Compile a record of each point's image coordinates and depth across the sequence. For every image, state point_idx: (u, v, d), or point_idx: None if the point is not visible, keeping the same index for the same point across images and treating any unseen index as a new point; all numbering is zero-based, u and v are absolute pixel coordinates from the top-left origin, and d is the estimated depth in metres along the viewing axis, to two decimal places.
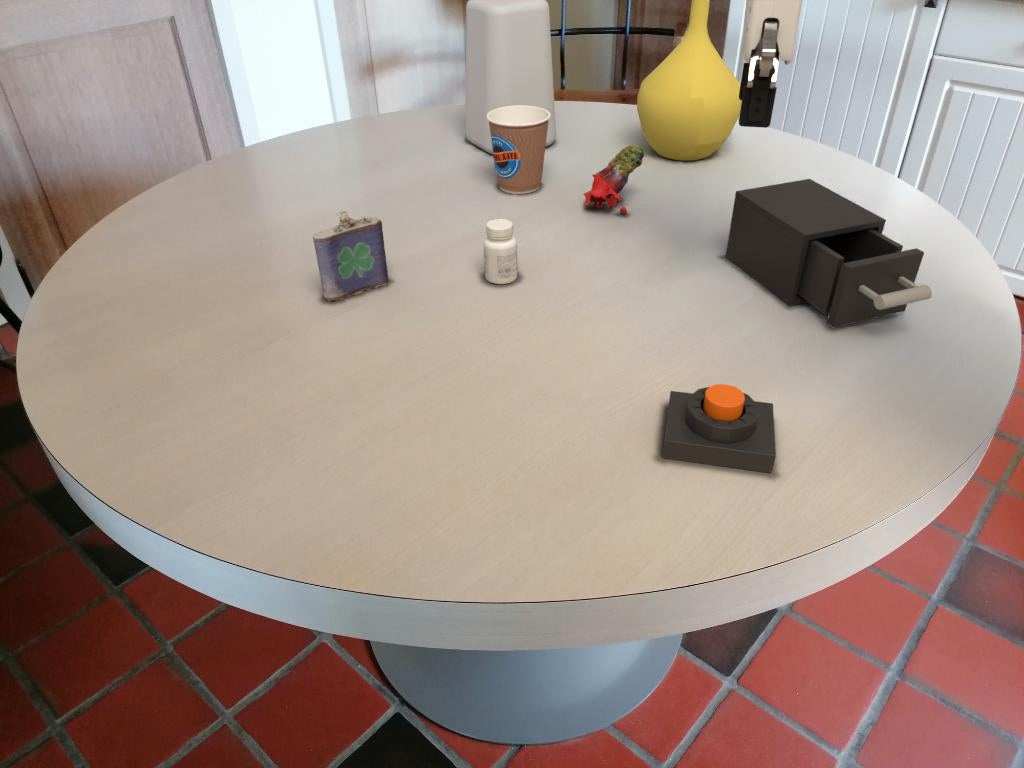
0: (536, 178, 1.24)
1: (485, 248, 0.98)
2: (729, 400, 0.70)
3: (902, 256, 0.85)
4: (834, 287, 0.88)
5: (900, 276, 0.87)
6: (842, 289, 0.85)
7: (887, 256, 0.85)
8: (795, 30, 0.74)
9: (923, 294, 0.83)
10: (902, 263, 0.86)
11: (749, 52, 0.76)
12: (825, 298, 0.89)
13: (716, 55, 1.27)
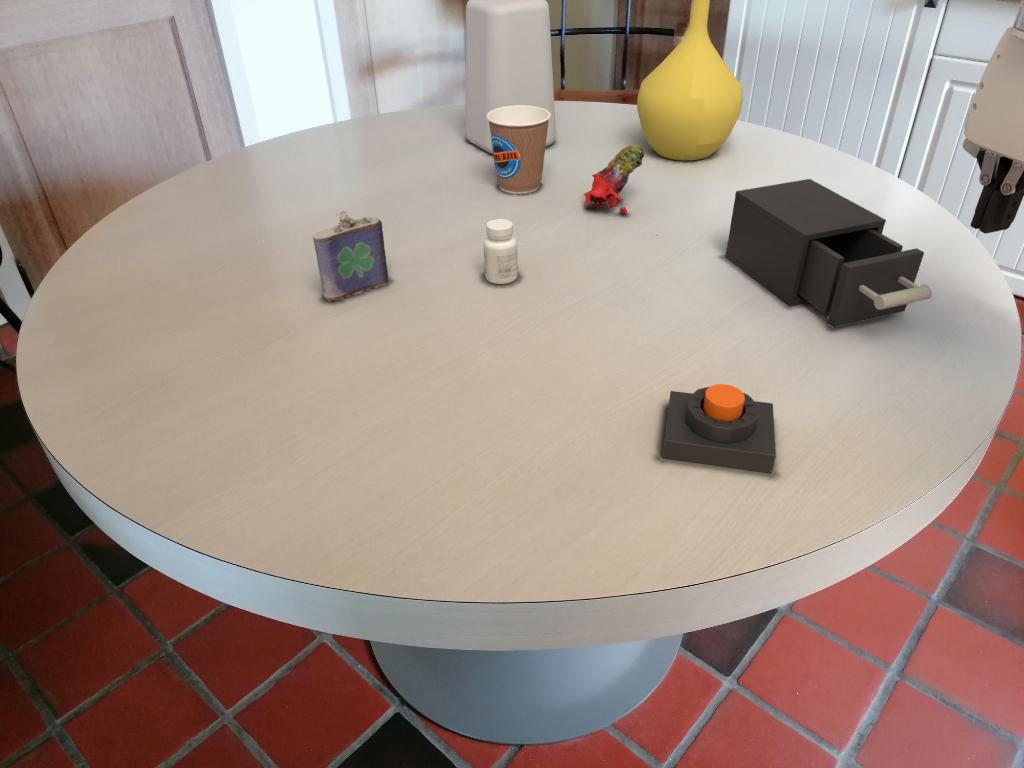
0: (536, 178, 1.24)
1: (485, 248, 0.98)
2: (729, 400, 0.70)
3: (902, 256, 0.85)
4: (834, 287, 0.88)
5: (900, 276, 0.87)
6: (842, 289, 0.85)
7: (887, 256, 0.85)
8: None
9: (923, 294, 0.83)
10: (902, 263, 0.86)
11: None
12: (825, 298, 0.89)
13: (716, 55, 1.27)
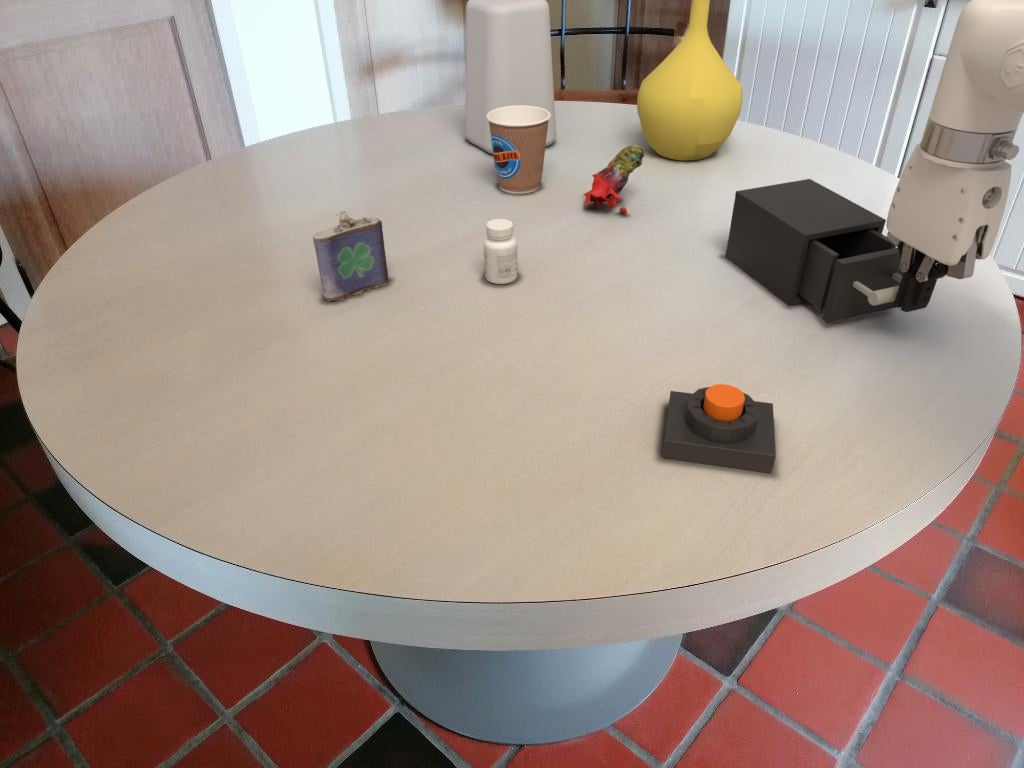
0: (536, 178, 1.24)
1: (485, 248, 0.98)
2: (729, 400, 0.70)
3: (896, 252, 0.86)
4: (829, 283, 0.88)
5: (894, 272, 0.87)
6: (836, 285, 0.86)
7: (881, 252, 0.86)
8: (997, 231, 0.73)
9: None
10: (896, 259, 0.86)
11: (958, 258, 0.74)
12: (820, 294, 0.90)
13: (716, 55, 1.27)
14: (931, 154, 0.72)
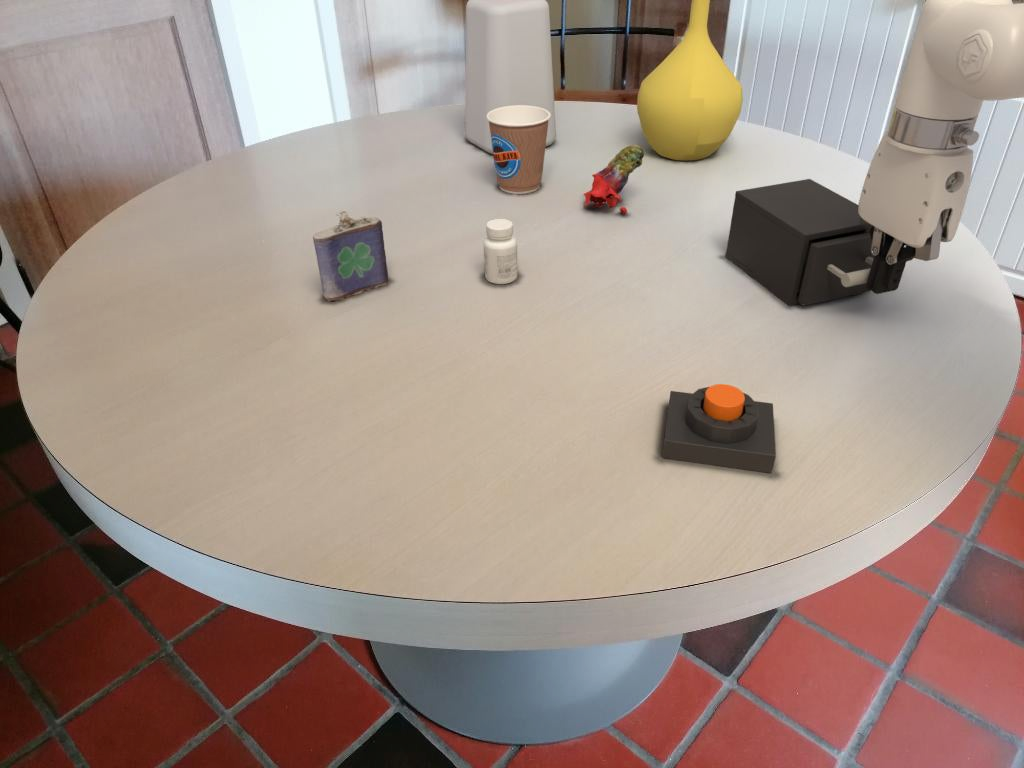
0: (536, 178, 1.24)
1: (485, 248, 0.98)
2: (729, 400, 0.70)
3: (869, 236, 0.89)
4: (804, 267, 0.92)
5: (867, 256, 0.91)
6: (811, 268, 0.89)
7: (854, 237, 0.89)
8: (961, 214, 0.77)
9: None
10: (869, 243, 0.90)
11: (924, 240, 0.77)
12: None
13: (716, 55, 1.27)
14: (897, 141, 0.75)
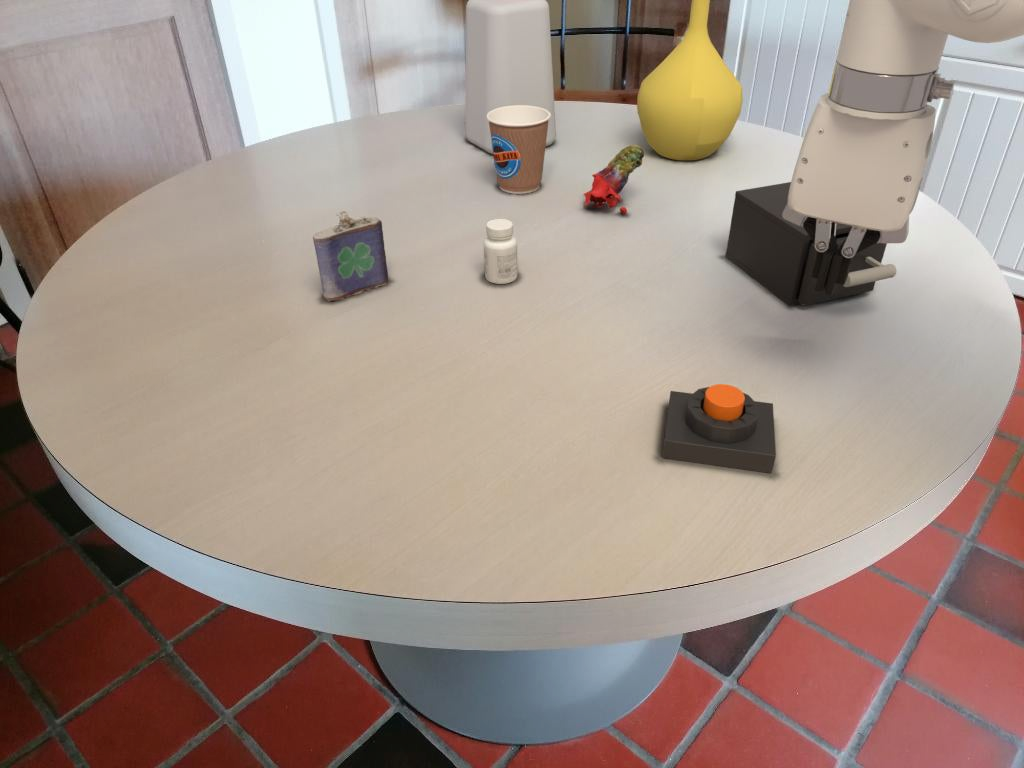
0: (536, 178, 1.24)
1: (485, 248, 0.98)
2: (729, 400, 0.70)
3: None
4: (804, 267, 0.92)
5: (867, 256, 0.91)
6: (811, 268, 0.89)
7: None
8: None
9: (888, 273, 0.87)
10: None
11: (905, 221, 0.63)
12: None
13: (716, 55, 1.27)
14: (866, 110, 0.59)
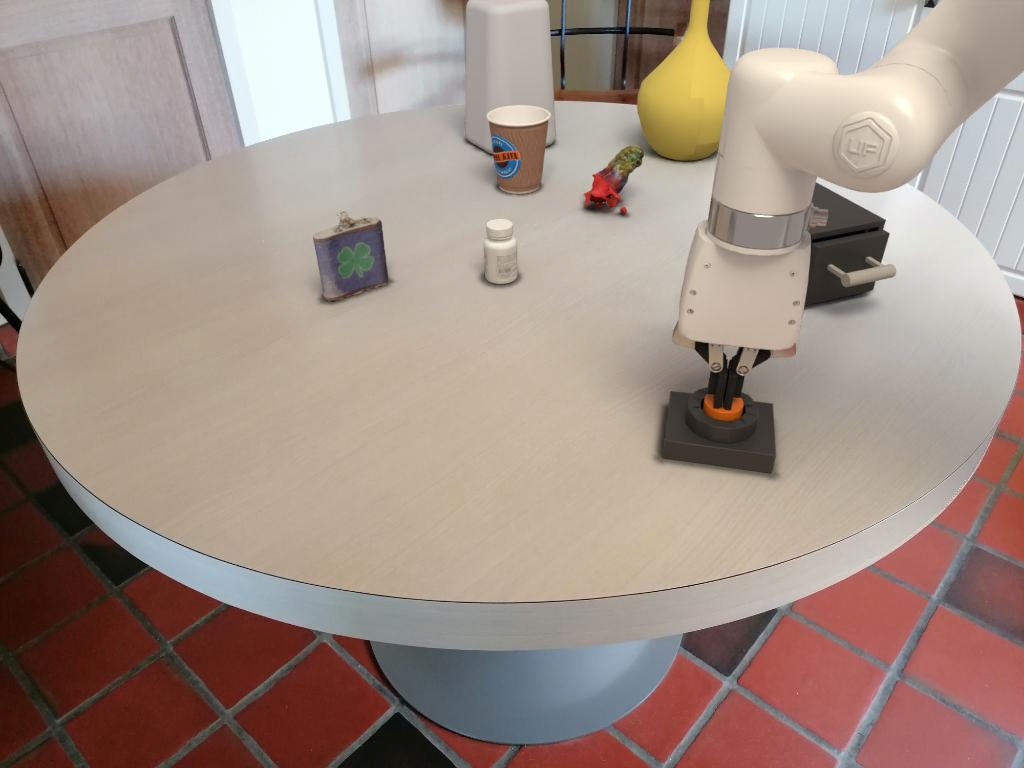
0: (536, 178, 1.24)
1: (485, 248, 0.98)
2: None
3: (869, 236, 0.89)
4: None
5: (867, 256, 0.91)
6: (811, 268, 0.89)
7: (854, 237, 0.89)
8: None
9: (888, 273, 0.87)
10: (869, 243, 0.90)
11: (796, 339, 0.64)
12: None
13: (716, 55, 1.27)
14: (754, 248, 0.58)
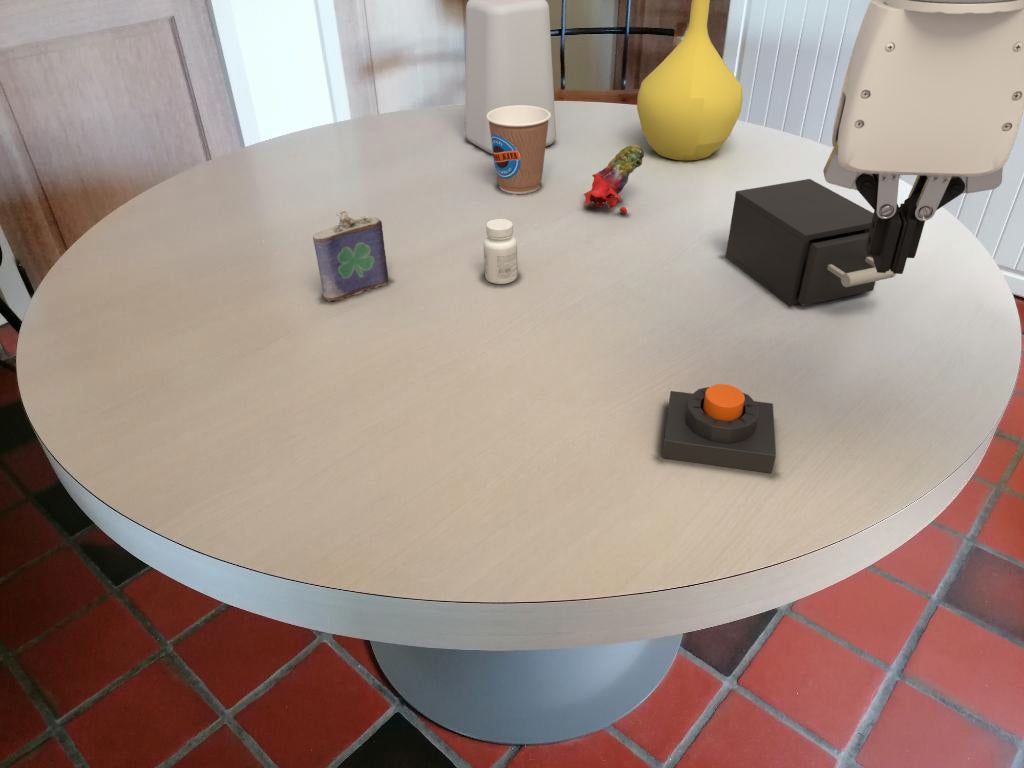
0: (536, 178, 1.24)
1: (485, 248, 0.98)
2: (729, 400, 0.70)
3: None
4: (804, 267, 0.92)
5: (867, 256, 0.91)
6: (811, 268, 0.89)
7: (854, 237, 0.89)
8: None
9: (888, 273, 0.87)
10: None
11: (1008, 156, 0.46)
12: None
13: (716, 55, 1.27)
14: (971, 2, 0.41)
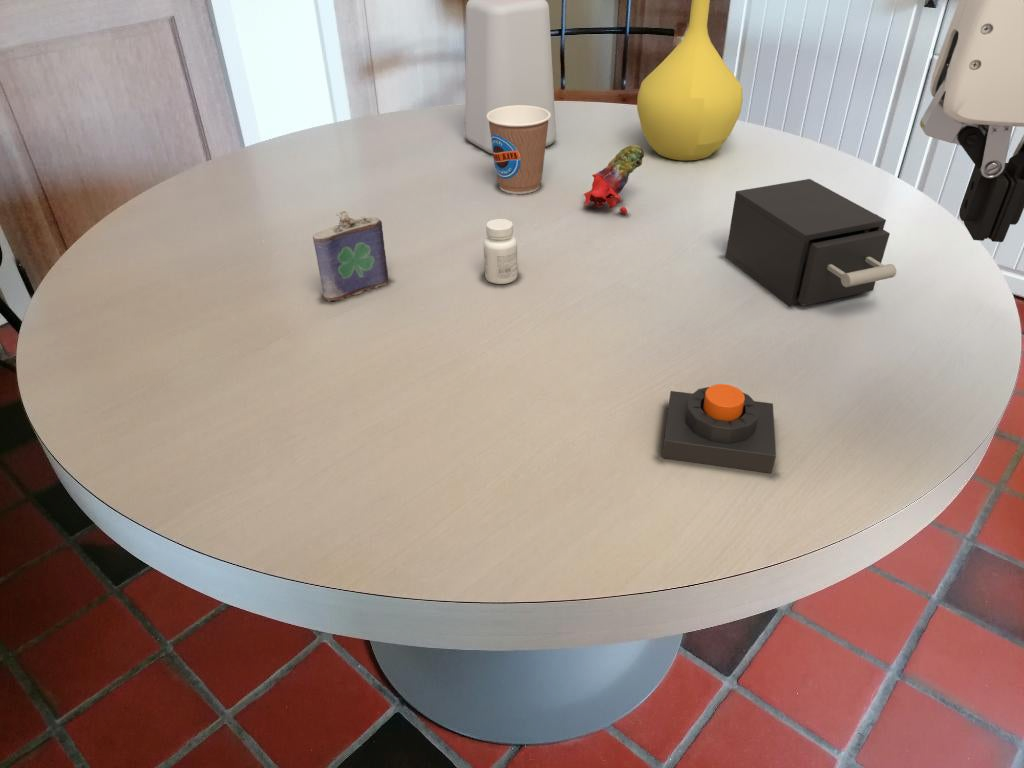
0: (536, 178, 1.24)
1: (485, 248, 0.98)
2: (729, 400, 0.70)
3: (869, 236, 0.89)
4: (804, 267, 0.92)
5: (867, 256, 0.91)
6: (811, 268, 0.89)
7: (854, 237, 0.89)
8: None
9: (888, 273, 0.87)
10: (869, 243, 0.90)
11: None
12: None
13: (716, 55, 1.27)
14: None
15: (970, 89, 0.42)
